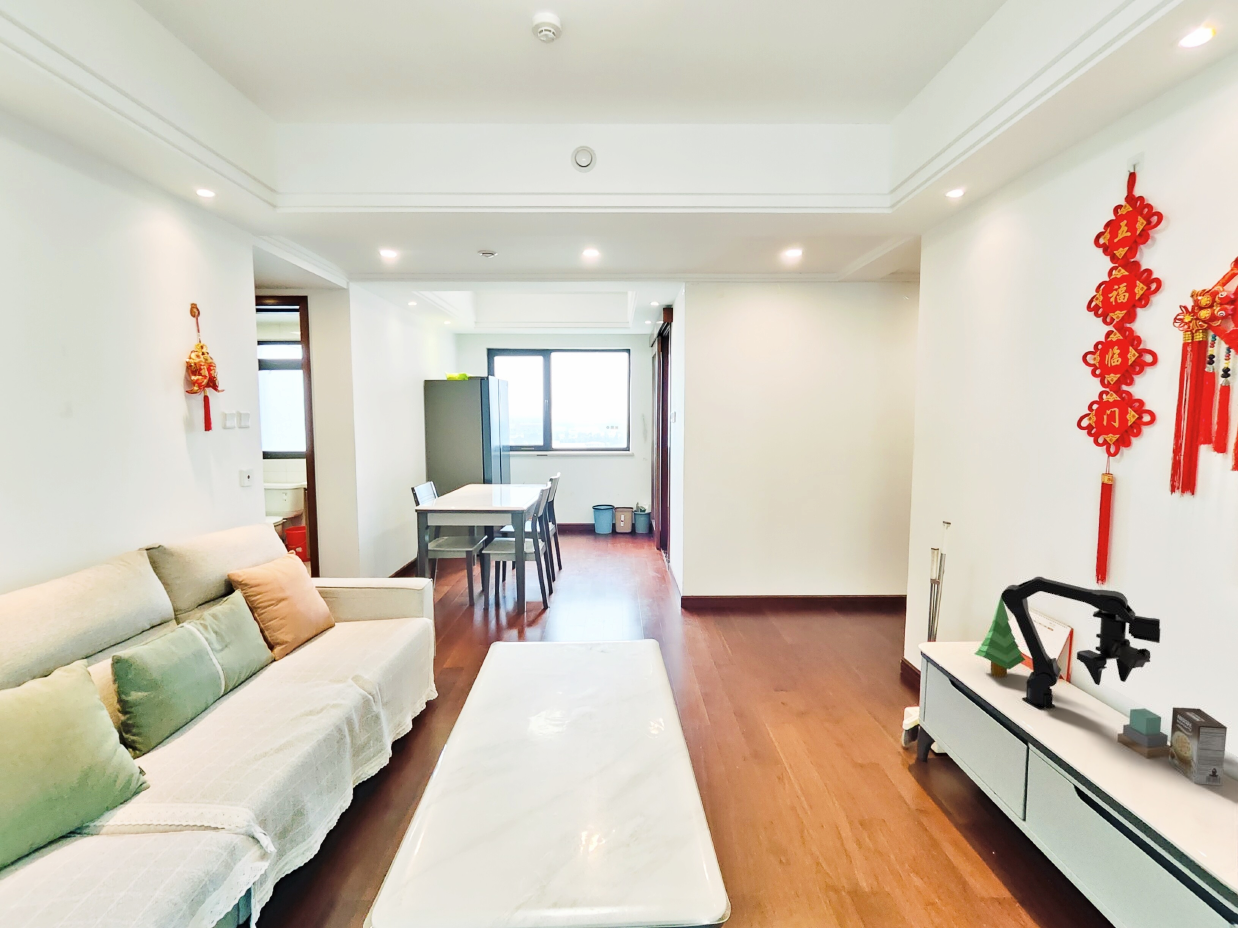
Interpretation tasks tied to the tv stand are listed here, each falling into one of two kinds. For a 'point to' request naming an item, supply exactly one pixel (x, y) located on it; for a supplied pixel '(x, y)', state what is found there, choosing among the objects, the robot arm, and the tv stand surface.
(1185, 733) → the coffee box
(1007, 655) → the decorative tree
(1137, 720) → the teal block
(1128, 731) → the charcoal middle block
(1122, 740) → the walnut base block
